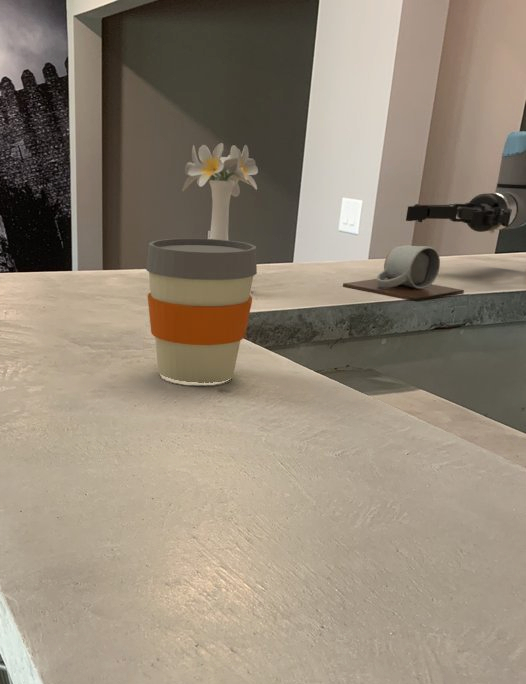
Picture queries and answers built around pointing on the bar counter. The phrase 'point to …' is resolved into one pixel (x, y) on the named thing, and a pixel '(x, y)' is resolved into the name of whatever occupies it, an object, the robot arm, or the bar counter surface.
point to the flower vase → (221, 180)
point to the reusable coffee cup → (199, 305)
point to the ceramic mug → (410, 267)
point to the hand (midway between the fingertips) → (440, 216)
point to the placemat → (404, 290)
